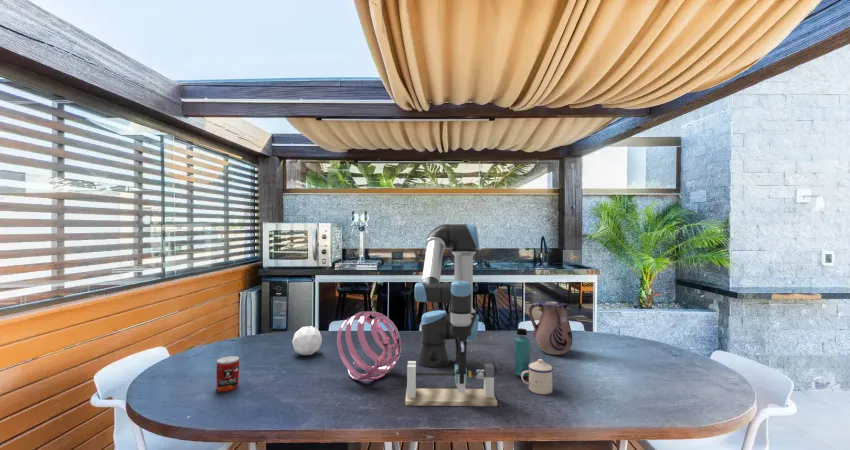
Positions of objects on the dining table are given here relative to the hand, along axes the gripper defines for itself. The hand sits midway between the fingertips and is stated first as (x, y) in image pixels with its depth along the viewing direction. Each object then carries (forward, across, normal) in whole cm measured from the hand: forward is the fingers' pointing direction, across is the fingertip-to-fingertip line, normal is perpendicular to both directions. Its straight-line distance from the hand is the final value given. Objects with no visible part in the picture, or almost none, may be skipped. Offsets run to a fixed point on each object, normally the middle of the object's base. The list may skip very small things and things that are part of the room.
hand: (460, 388), depth 137 cm
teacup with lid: (+4, +8, -30) cm, 32 cm away
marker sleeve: (-3, 0, 0) cm, 3 cm away
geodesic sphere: (+4, +50, +71) cm, 87 cm away
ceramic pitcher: (+4, +56, -51) cm, 76 cm away
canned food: (+4, +8, +89) cm, 89 cm away
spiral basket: (+4, +20, +36) cm, 41 cm away
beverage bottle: (+4, +22, -28) cm, 36 cm away
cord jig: (+4, 0, +4) cm, 5 cm away
